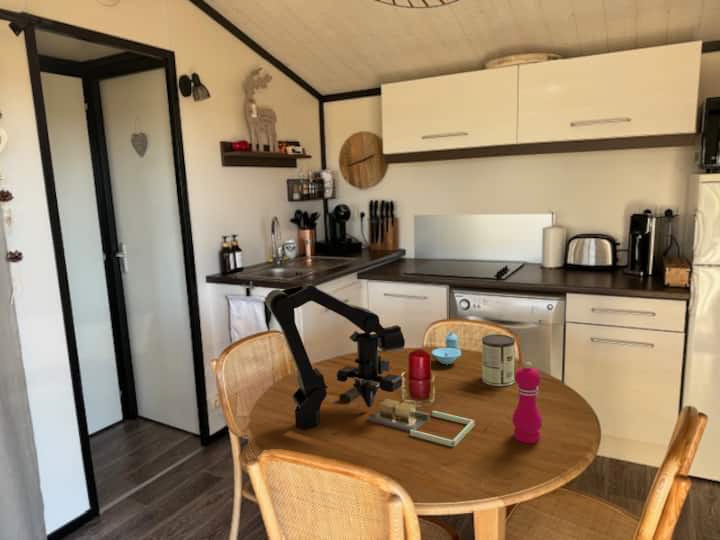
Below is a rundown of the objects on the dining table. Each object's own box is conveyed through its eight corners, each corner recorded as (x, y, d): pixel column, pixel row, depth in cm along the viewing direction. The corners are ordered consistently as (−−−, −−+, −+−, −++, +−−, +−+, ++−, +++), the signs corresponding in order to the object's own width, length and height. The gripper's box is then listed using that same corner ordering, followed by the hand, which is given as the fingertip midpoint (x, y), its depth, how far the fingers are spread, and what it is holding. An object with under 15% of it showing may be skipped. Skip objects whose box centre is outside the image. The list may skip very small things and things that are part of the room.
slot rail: (413, 436, 133) (413, 428, 133) (368, 424, 141) (367, 416, 141) (430, 421, 141) (430, 413, 141) (386, 410, 149) (386, 402, 149)
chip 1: (392, 420, 140) (392, 407, 139) (379, 417, 142) (379, 404, 142) (399, 415, 143) (399, 401, 143) (387, 412, 145) (387, 398, 145)
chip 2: (408, 425, 137) (408, 410, 137) (395, 421, 139) (395, 407, 139) (415, 419, 140) (415, 405, 140) (402, 415, 143) (402, 402, 142)
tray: (454, 451, 125) (453, 441, 125) (410, 439, 132) (410, 430, 132) (474, 429, 136) (474, 420, 136) (433, 419, 143) (433, 410, 142)
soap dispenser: (457, 370, 178) (457, 345, 177) (428, 367, 182) (427, 343, 181) (467, 354, 195) (467, 331, 193) (440, 351, 199) (439, 329, 197)
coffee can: (487, 372, 175) (487, 332, 173) (518, 377, 170) (518, 336, 167) (477, 383, 167) (477, 341, 164) (509, 388, 161) (509, 345, 159)
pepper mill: (538, 447, 126) (539, 369, 123) (508, 440, 130) (509, 364, 126) (544, 434, 132) (546, 359, 129) (516, 428, 136) (517, 355, 132)
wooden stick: (349, 408, 152) (349, 393, 152) (338, 405, 155) (338, 390, 154) (384, 386, 168) (384, 373, 167) (374, 384, 170) (373, 370, 169)
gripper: (411, 350, 145) (412, 403, 148) (356, 341, 155) (358, 390, 158) (391, 362, 136) (392, 418, 139) (334, 352, 146) (336, 404, 149)
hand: (369, 406), depth 146 cm, fingers closed
